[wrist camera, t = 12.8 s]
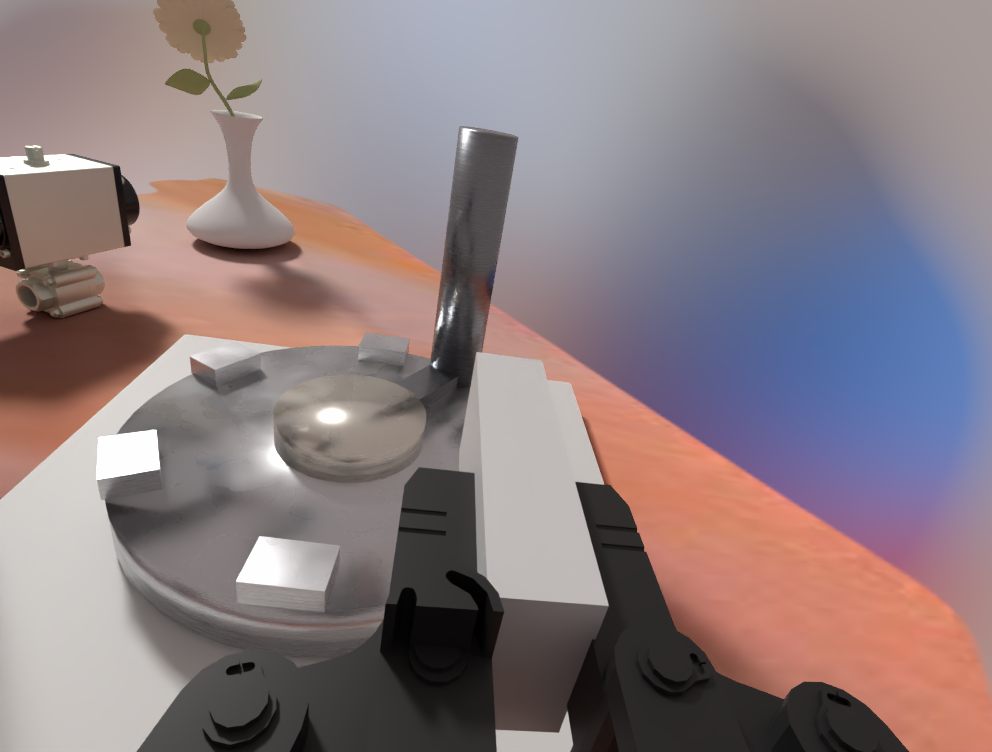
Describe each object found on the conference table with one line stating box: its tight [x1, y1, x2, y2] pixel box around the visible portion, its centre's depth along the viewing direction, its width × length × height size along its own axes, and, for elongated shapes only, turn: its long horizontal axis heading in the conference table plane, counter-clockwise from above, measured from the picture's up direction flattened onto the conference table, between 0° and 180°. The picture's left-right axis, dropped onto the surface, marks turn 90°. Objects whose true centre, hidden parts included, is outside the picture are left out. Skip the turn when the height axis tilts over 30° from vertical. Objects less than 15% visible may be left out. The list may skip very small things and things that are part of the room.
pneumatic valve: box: [0, 146, 139, 318], centre depth 41 cm, size 6×12×12 cm, turn 162°
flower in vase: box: [153, 0, 295, 249], centre depth 59 cm, size 13×11×25 cm
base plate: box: [0, 334, 604, 752], centre depth 29 cm, size 28×28×2 cm
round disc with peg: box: [97, 126, 518, 658], centre depth 24 cm, size 20×20×16 cm
